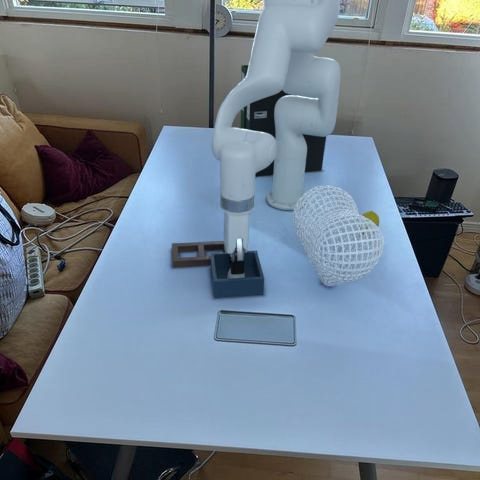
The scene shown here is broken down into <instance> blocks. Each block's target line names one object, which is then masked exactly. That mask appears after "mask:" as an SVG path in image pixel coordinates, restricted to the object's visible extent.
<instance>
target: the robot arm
mask: <svg viewBox="0 0 480 480" xmlns="http://www.w3.org/2000/svg"><path fill="white" fill-rule="evenodd" d="M262 2H263V4H262V5H263V10H261V13H260V15H259V16H258V21H257V26H256V29H255V30H256V31H255V35H254V39H253V43H252V49H251V54H250V57H249V62H248V65H249V66H248V71H247V75H246V77H245V79H244V80H243V81H242V82H241V81H240V82H239V83H238V84H237V85H236V86H234V87H233V88H232V89H231V90H230V91H229V93H228V94H227V96H226V97H225V98H224V100H223V101H222V103H221V104H220V106H219V108H218V111H217V115H216V119H215V122H214V127H213V133H212V138H211V152H212V155H213V157H214V158H215V159H216V160H217V161H219V184H220V185H219V189H220V190H219V191H220V192H219V198H220V199H219V200H220V203H219V204H220V205H219V206H220V210H222V212H223V239H224V240H223V241H225V246H226V251H227V253H228V254H229V264H230V265H231V274H243V273H244V252H245V253H246V252H247V251H249V237H250V236H249V235H250V213H251V212H252V211H254V209H255V196H256V195H255V193H256V190H255V189H256V177H255V173H257V172H259V171H261V170H263V169H265V168H266V167H268V166H269V165H270V164H271V163H272V162H273V161H274V173H273V175H272V178H273V179H272V190H271V191H270V192H269V193H268V194H267V196H266V201H267V203H268V205H269V206H271V207H273V208H275V209H279V210H283V211H294V207H295V205H296V203H297V201H298V200H299V198H300V197H301V196H302V195H303V194H304V193H303V189H304V181H305V173H306V172H305V164H306V156H307V144H306V141H305V139H304V137H303V135H302V134H307V135H313V136H322V137H325V136H326V137H328V136H331V135H332V133H333V131H334V130H335V126H336V122H337V116H338V109H339V108H338V107H339V98H340V88H341V79H342V78H341V75H342V73H341V66H340V64H339V63H338V61H337V60H335V59H333V58H329V57H322V56H321V57H320V56H316V55H315V54H316V53H318V52H319V51H320V50H321V49H322V48H323V47H324V45H325V44H326V42H327V40H328V39H329V37H330V35H331V34H332V32H333V31H334V28H335V26H336V25H337V22H338V19H339V15H340V8H341V2H340V0H262ZM281 90H283V91H284V92H285V93H287V94H291V95H288V96H284V97H281V98H280V99H279V100H278V101H277V103H276V105H275V109H274V119H275V130H276V140H275V138H274V137H273V136H272V135H270V134H268V133H265V132H259V131H252V130H247V129H241V127H240V128H239V127H232V126H233V123H234V121H235V118H236V116H238V114H239V113H240V112H241V109H243V108H244V107H245V106H247V105H248V104H250V103H252V102H255V101H257V100H260V99H263V98H266V97H269V96H272V95H274V94H277V93H279V92H280V91H281ZM295 95H297V96H295ZM303 96H304V97H303ZM309 97H311V98H309ZM304 199H305V198H304ZM305 201H306V200H305ZM301 202H302V200H301ZM300 204H301V203H300ZM304 206H305V204H304ZM231 253H232V257H231V256H230V254H231ZM235 253H237V255H235ZM231 259H232V260H231Z"/></svg>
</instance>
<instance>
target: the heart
mask: <svg viewBox="0 0 480 480" xmlns="http://www.w3.org/2000/svg"><path fill="white" fill-rule="evenodd" d="M320 190H321V191H320ZM323 195H325V196H323ZM318 196H319V198H317V197H318ZM309 197H310V198H309ZM304 198H305V199H304ZM332 199H333V200H332ZM301 200H302V202H301ZM305 200H306V201H305ZM321 202H323V203H322V204H321ZM300 203H301V204H300ZM304 204H305V205H304ZM343 204H344V205H343ZM316 205H318V206H316ZM307 206H308V207H307ZM336 208H337V209H336ZM311 210H313V211H312V212H311ZM317 211H318V212H317ZM326 211H327V212H326ZM325 212H326V213H325ZM303 213H304V214H303ZM307 215H308V216H307ZM316 218H318V219H316ZM292 220H293V221H292V222H293V226H294V230H295V232H296V235H297V237H298V239H299V242H300V243H301V246H302V248H303V250H304V252H305V254H306V256H307V258H308V260H309V262H310V265H311V266H312V268H313V270H314V271H315V273H316V275H317V277H318V278H319V280H320V281H321V283H322V284H323V285H324V286H327V287H336V286H339V285H343V284H348V283H351V282H354V281H357V280H359V279H361V278H364V277H365V276H366V275H367V274H369V273H370V272H371V271H372V270H373V269H374V268H375V267H376V266H377V264H378V263H379V261H380V260H381V257H382V255H383V252H384V247H385V237H384V235H383V232H382V231H381V228H380V227H378V226H377V225H376V224H375V223H374V222H372V221H371V220H370V219H368V218H366V217H364V216H362V215H361V214H360V213H359V209H358V207H357V204H356V201H355V200H354V198H353V197H352V196H351V195H350V194H349V192H348V191H345V190H344V189H342V188H340V187H338V186H334V185H319V186H315V187H312V188H310V189H309V190H307V191H306V192H304V193H303V195H302V196H301V197H300V198H299V200H298V201H297V203H296V205H295V207H294V210H293V215H292ZM366 220H367V221H366ZM346 222H347V223H346ZM365 224H366V225H365ZM369 224H370V226H369ZM331 226H333V227H332V228H331ZM365 227H367V230H366V228H365ZM360 228H361V230H360ZM326 229H328V230H326ZM343 230H344V232H343ZM373 231H374V234H373ZM337 232H338V233H337ZM362 232H364V235H363V234H362ZM369 232H370V233H369ZM328 233H329V236H327V234H328ZM367 234H368V236H367ZM345 235H346V236H345ZM365 235H366V236H365ZM369 235H370V236H369ZM339 238H340V239H339ZM328 240H330V243H329V241H328ZM339 240H340V241H339ZM324 242H325V243H324ZM369 243H370V244H369ZM359 244H360V247H359ZM347 246H349V247H348V249H346V247H347ZM353 246H355V247H354V248H353ZM321 247H322V249H321ZM339 247H341V251H340V252H339ZM325 248H326V250H325ZM333 248H334V250H333ZM359 254H361V255H360V256H359ZM325 255H326V256H325ZM332 255H333V256H332ZM353 255H355V256H354V257H353ZM346 256H348V257H346ZM341 257H342V258H341ZM340 258H341V260H340ZM325 262H326V263H325ZM358 264H359V265H358ZM346 265H347V266H346ZM340 266H341V267H340Z"/></svg>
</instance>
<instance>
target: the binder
mask: <svg viewBox="0 0 480 480" xmlns="http://www.w3.org/2000/svg"><path fill="white" fill-rule="evenodd" d="M248 66H249V64H241V69H240V70H241V71H240V73H241V75H240V76H241V77H240V78H241V79H240V82H242V81H243V80H244V79H245V77H246V75H247V71H248ZM288 95H291V94H287V93H285V92H284V91H283V90H281V91H280V92H279V93H277V94H274V95H272V96H269V97H266V98H263V99H260V100H257V101H255V102H252V103H250V104H248V105H247V106H245V107H244V108H243V109H241V110H240V129H247V130H252V131H259V132H265V133H268V134H270V135H272V136H273V137H274V138H275V140H276V130H275V119H274V109H275V105H276V103H277V101H278V100H279V99H280V98H281V97H284V96H288ZM295 96H297V95H295ZM303 97H304V96H303ZM309 98H311V97H309ZM302 135H303V137H304V139H305V141H306V144H307V156H306V164H305V173H314V172H322V171H323V164H324V157H325V149H326V142H327V136H325V137H322V136H313V135H307V134H302ZM273 173H274V161H273V162H272V163H271V164H270V165H269V166H268V167H266V168H265V169H263V170H261V171H259V172H257V173H255V178H257V177H268V176H269V177H270V176H273Z"/></svg>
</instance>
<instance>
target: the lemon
mask: <svg viewBox="0 0 480 480" xmlns="http://www.w3.org/2000/svg"><path fill="white" fill-rule="evenodd" d="M361 216H364V217H366V218H368V219H370V220H371V221H372V222H374V223H375V224H376V225H377V226H378V228H380V217H379V215H378V214H377V213H376V212H374V211H373V210H369V211H366V212H364V213H363V214H362V215H361ZM366 221H367V220H366ZM365 225H366V224H365ZM369 226H370V224H369ZM365 228H366V230H367V227H365ZM360 230H361V228H360ZM369 233H370V232H369ZM373 234H374V235H375V233H374V231H373ZM362 235H363V236H364V232H362ZM367 236H368V234H367ZM365 237H366V235H365ZM369 237H371V235H369Z"/></svg>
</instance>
